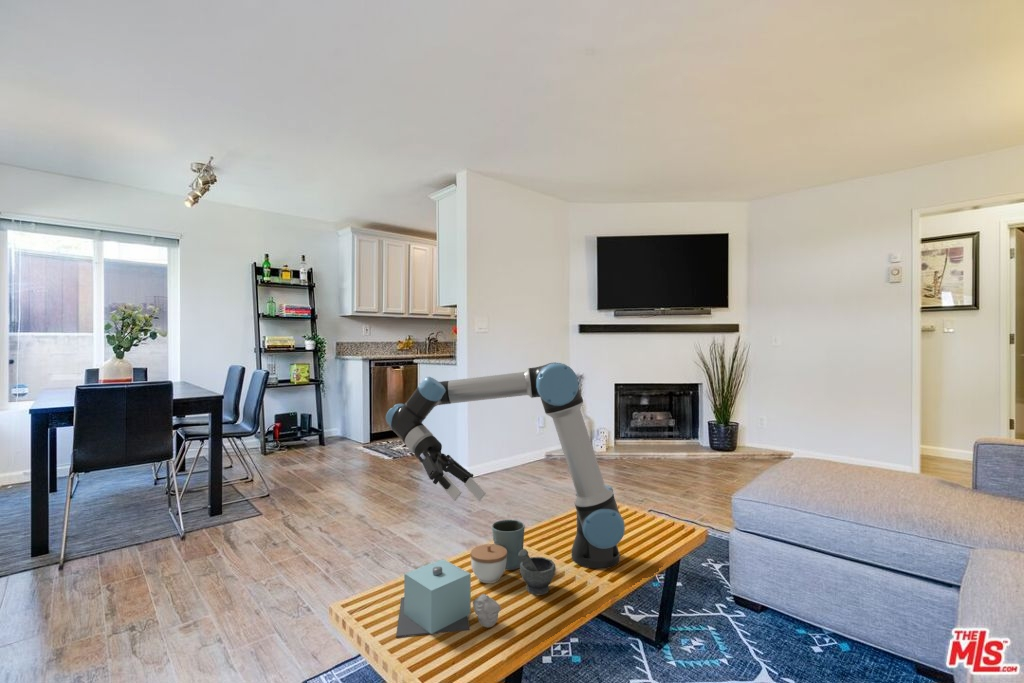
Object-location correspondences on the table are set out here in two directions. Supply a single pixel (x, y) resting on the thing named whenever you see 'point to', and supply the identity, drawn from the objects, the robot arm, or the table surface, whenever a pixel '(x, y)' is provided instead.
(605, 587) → the table surface
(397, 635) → the rubber mat
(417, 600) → the cover tub
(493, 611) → the grey lumpy rounded piece
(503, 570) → the lidded jar
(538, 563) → the mortar and pestle
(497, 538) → the grey green cylindrical pot
